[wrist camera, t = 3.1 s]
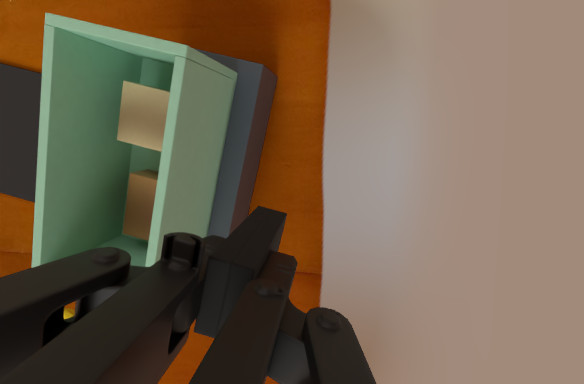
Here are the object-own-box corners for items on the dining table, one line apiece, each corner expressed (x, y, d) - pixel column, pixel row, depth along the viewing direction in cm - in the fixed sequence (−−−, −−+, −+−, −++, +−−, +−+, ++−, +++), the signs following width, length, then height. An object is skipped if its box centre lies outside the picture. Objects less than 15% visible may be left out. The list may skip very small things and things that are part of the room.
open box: (141, 49, 25) (44, 12, 17) (238, 72, 24) (187, 45, 16) (118, 236, 29) (30, 281, 20) (202, 261, 28) (146, 317, 20)
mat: (-119, 33, 34) (-123, 32, 34) (146, 100, 32) (145, 99, 32) (-112, 159, 38) (-116, 159, 37) (130, 228, 35) (128, 229, 35)
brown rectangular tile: (147, 168, 26) (129, 172, 24) (188, 179, 26) (174, 184, 24) (140, 224, 27) (122, 233, 25) (179, 235, 27) (164, 246, 25)
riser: (177, 53, 31) (140, 35, 25) (277, 76, 30) (263, 64, 24) (152, 226, 35) (115, 246, 29) (240, 251, 34) (220, 277, 28)
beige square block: (156, 87, 25) (122, 80, 21) (204, 99, 24) (179, 93, 21) (149, 138, 26) (116, 140, 22) (196, 150, 25) (170, 154, 21)
